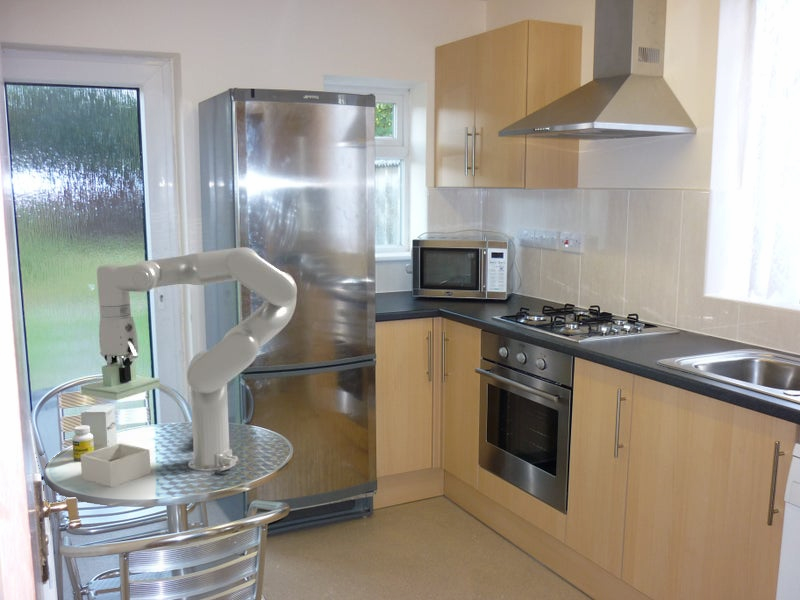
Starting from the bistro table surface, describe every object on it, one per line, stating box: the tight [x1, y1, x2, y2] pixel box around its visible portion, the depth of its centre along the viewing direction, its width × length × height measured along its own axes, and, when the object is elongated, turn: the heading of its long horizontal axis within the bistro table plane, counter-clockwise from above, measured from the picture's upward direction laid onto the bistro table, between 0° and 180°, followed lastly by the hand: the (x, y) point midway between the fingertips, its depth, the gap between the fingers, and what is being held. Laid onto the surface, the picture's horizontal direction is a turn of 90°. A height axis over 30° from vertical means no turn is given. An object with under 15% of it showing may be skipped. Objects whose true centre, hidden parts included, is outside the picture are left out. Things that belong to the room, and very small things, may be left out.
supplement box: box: [80, 405, 118, 451], centre depth 220 cm, size 7×7×13 cm
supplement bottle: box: [71, 424, 94, 463], centre depth 211 cm, size 5×5×10 cm
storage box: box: [80, 442, 151, 488], centre depth 197 cm, size 12×12×7 cm
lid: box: [80, 360, 161, 401], centre depth 199 cm, size 14×14×7 cm
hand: (120, 380), depth 199 cm, fingers closed on lid, 3 cm apart
